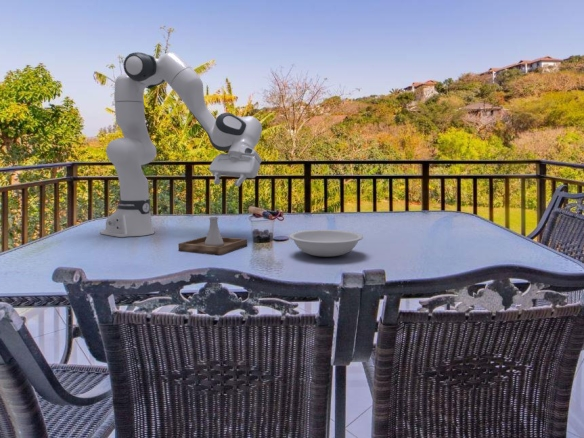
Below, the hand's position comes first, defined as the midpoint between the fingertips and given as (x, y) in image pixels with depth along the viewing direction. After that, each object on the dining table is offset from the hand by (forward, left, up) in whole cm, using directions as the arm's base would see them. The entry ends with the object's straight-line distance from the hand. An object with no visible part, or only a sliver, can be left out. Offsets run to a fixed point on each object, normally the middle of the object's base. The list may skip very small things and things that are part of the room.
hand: (226, 184), depth 179 cm
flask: (+3, -13, -21) cm, 25 cm away
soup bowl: (+43, -7, -22) cm, 48 cm away
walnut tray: (+3, -13, -21) cm, 25 cm away
